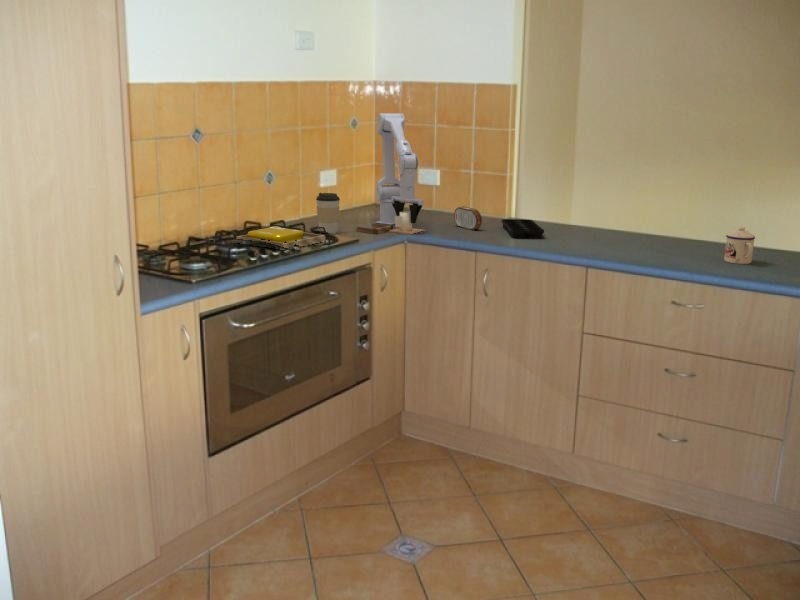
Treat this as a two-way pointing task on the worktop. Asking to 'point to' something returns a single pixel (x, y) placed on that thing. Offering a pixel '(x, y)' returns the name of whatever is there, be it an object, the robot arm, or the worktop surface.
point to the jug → (404, 221)
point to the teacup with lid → (739, 246)
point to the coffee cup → (328, 211)
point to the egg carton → (522, 228)
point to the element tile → (276, 234)
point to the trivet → (406, 231)
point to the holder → (375, 229)
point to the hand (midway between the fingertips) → (406, 222)
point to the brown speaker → (468, 218)
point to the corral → (303, 242)
